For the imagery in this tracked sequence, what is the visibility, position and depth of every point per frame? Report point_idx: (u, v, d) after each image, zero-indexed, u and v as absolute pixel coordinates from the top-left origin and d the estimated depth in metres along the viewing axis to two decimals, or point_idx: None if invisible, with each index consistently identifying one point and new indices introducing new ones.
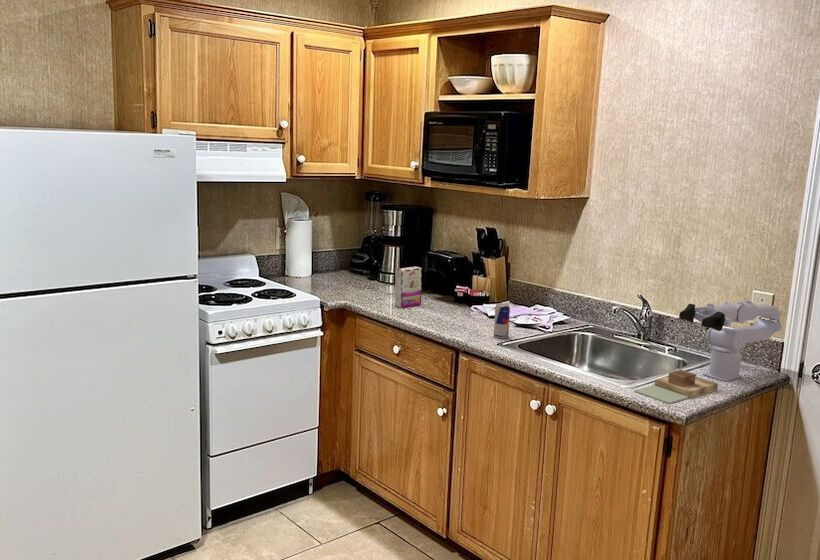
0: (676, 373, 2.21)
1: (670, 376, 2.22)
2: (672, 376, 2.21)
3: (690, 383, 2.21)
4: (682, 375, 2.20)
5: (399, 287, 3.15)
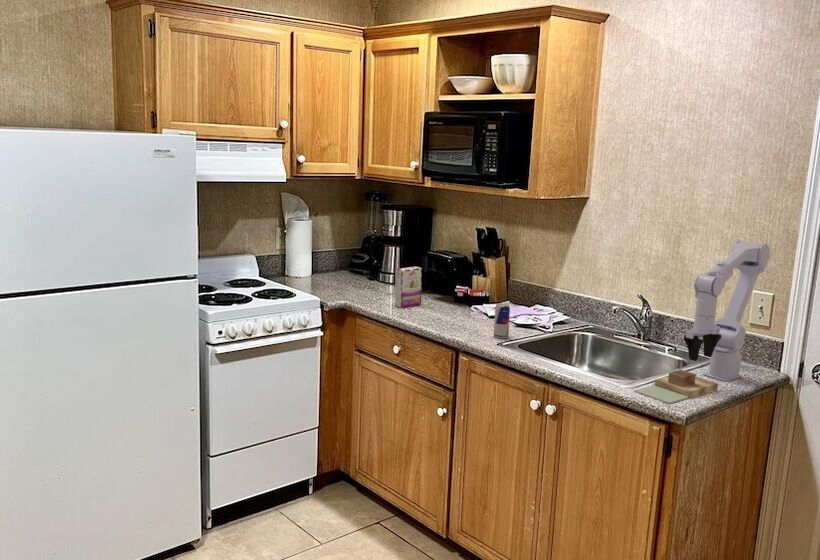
0: (676, 373, 2.21)
1: (670, 376, 2.22)
2: (672, 376, 2.21)
3: (690, 383, 2.21)
4: (682, 375, 2.20)
5: (399, 287, 3.15)
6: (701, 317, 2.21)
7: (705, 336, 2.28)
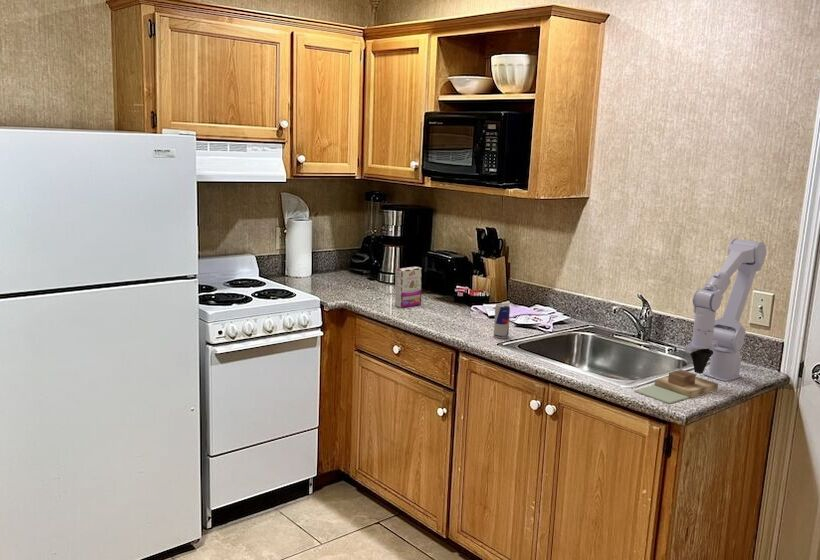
0: (676, 373, 2.21)
1: (670, 376, 2.22)
2: (672, 376, 2.21)
3: (690, 383, 2.21)
4: (682, 375, 2.20)
5: (399, 287, 3.15)
6: (699, 332, 2.22)
7: None
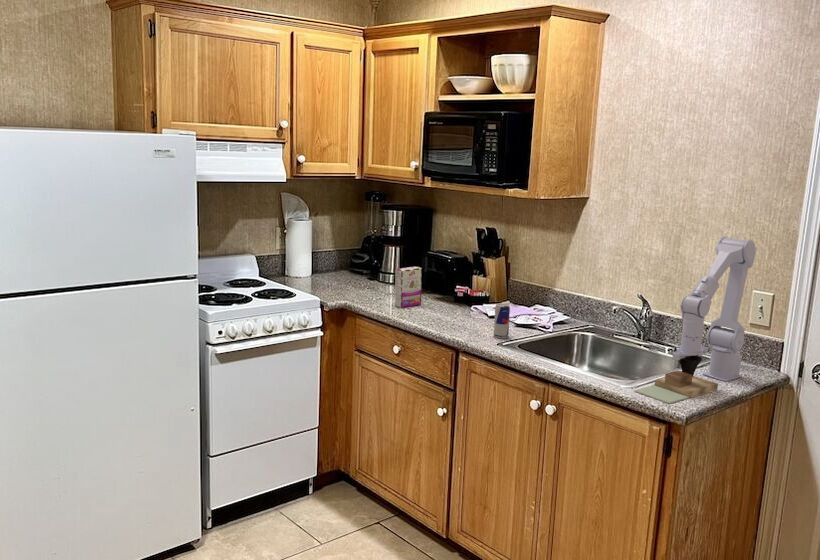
0: (672, 374, 2.21)
1: (667, 376, 2.21)
2: (669, 377, 2.20)
3: (687, 384, 2.20)
4: (679, 376, 2.19)
5: (399, 287, 3.15)
6: (688, 338, 2.19)
7: None
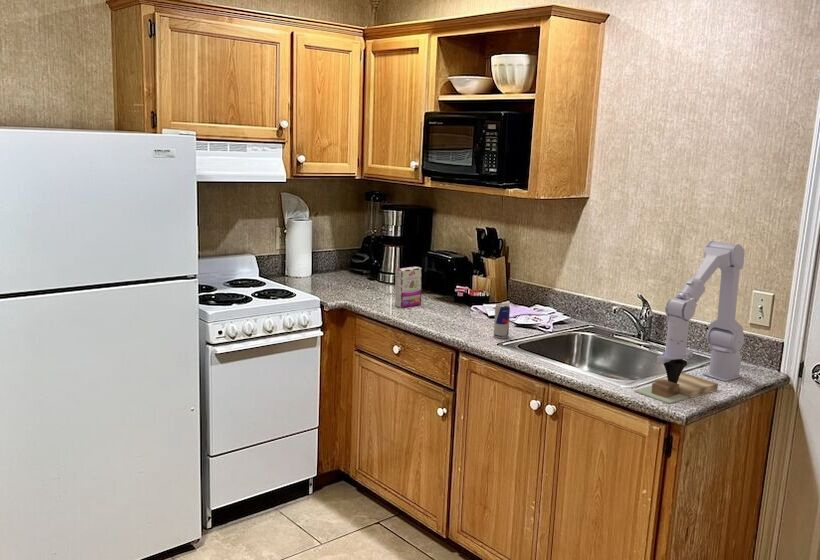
0: (659, 383, 2.16)
1: (653, 386, 2.17)
2: (656, 387, 2.16)
3: (674, 393, 2.16)
4: (666, 385, 2.15)
5: (399, 287, 3.15)
6: (672, 342, 2.15)
7: None
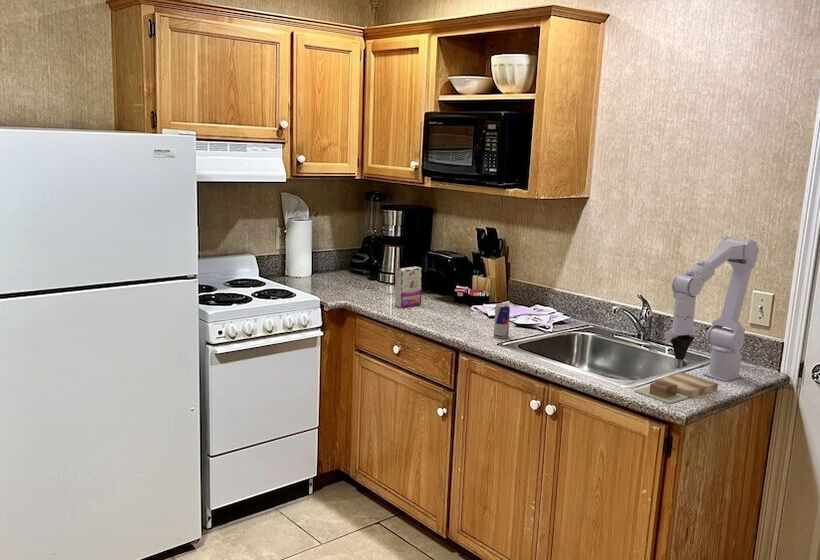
0: (657, 384, 2.16)
1: (651, 387, 2.16)
2: (653, 387, 2.15)
3: (672, 394, 2.15)
4: (664, 386, 2.14)
5: (399, 287, 3.15)
6: (679, 318, 2.18)
7: None
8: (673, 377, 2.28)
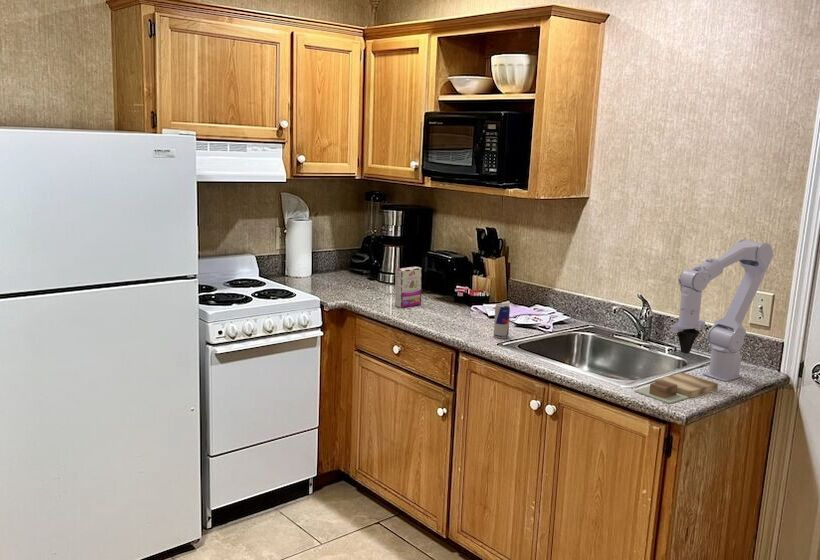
0: (657, 384, 2.16)
1: (651, 387, 2.16)
2: (653, 387, 2.15)
3: (672, 394, 2.15)
4: (664, 386, 2.14)
5: (399, 287, 3.15)
6: (685, 312, 2.23)
7: None
8: (673, 377, 2.28)
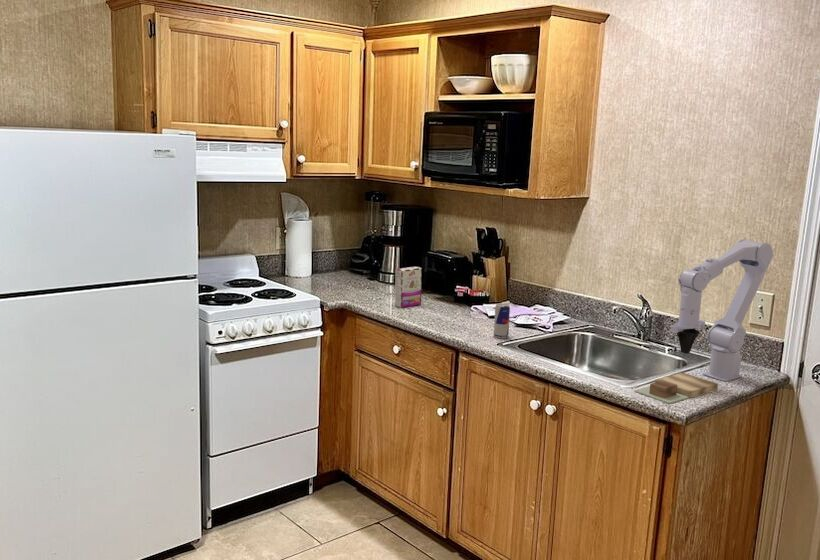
0: (657, 384, 2.16)
1: (651, 387, 2.16)
2: (653, 387, 2.15)
3: (672, 394, 2.15)
4: (664, 386, 2.14)
5: (399, 287, 3.15)
6: (685, 312, 2.23)
7: None
8: (673, 377, 2.28)
